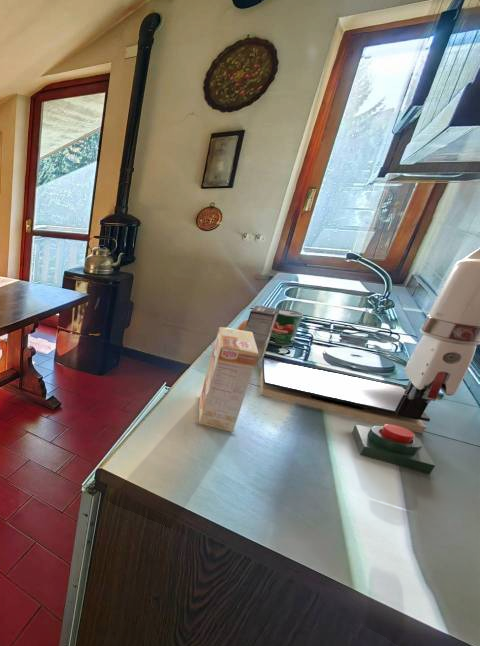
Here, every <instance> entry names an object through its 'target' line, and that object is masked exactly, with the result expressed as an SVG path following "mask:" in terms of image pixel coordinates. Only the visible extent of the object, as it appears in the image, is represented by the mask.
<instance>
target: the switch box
mask: <svg viewBox="0 0 480 646" xmlns="http://www.w3.org/2000/svg"><path fill="white" fill-rule="evenodd" d="M383 427H384V425H374V426H372V427H369V426H366V425H360V424H357V423H356V424H355V425H354V427H353V429H352V431H351V434H352V436H353V440H354V442H355V445H356V448H357V450H358V453H359V456H361V457H365V458H368V459H372V460H377V461H380V462H383V463H387V464H390V465H394V466H398V467H402V468H404V469H409V470H411V471H416V472H419V473H423V474H427V475H431V473H432V472H433V470H434V469H435V468H436V464H435V463H434V462H433V460H432V458H431V456H430V455H429V453H428V452H427V450H426V448H425V446H424V443H423V442H422V441H421V439H419V438H418V437H416V436H414V438H413V440H412V441H411V443H401V442H397V441H394V440H392V439H389V438H387V437H385V436H383V435H382V434H381V431H382V429H383Z"/></svg>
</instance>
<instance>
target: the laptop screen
mask: <svg viewBox="0 0 480 646" xmlns="http://www.w3.org/2000/svg"><path fill="white" fill-rule="evenodd" d="M262 362H263V374H264V384H265V385H270V386H274V387H278V388H283V389H287V390H292V391H296V392H300V393H305V394H309V395H314V396H318V397H322V398H327V399H331V400H335V401H340V402H344V403H349V404H353V405H357V406H362V407H366V408H371V409H375V410H379V411H384V412H388V413H393V414H397V413H396V412H395V409H396V407H397V406H398V404H399V402H400V400H401V398H402V396H403V395H406V394H404V392H405V388H404V387H403V386H398V385H394V384H390V383H384V382H379V381H374V380H369V379H364V378H359V377H354V376H349V375H345V374H340V373H335V372H329V371H325V370H319V369H313V368H309V367H304V366H300V365H294V364H289V363H283V362H279V361H274V360H270V359H263V358H262ZM419 420H422V422H423V421H424V422H430V421H431V418H430V417H429V416H428V415H427V414H426V412H425V411H424V412H423V414H422V416H421V418H420V419H419Z"/></svg>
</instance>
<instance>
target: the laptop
mask: <svg viewBox="0 0 480 646" xmlns="http://www.w3.org/2000/svg"><path fill="white" fill-rule="evenodd" d="M259 388H260V389H259V390H260V391H259V392H260V396H264V397H268V398H273V399H277V400H281V401H284V402H288V403H293V404H298V405H302V406H306V407H310V408H314V409H318V410H323V411H326V412H330V413H334V414H339V415H343V416H348V417H351V418H356V419H359V420H364V421H367V422H373V423H375V424H376V423H377V424H380V425H387V424H390V425H396V426H400V427H403V428H405V429H408V430H410V431H411V432H413V433H419V434H424V432H425V430H426V428H427V426H426V425H425V423H424V422H423V420H416V419H411V418H407V417H403V416H399V415H397V414H393V413H388V412H384V411H379V410H375V409H371V408H366V407H362V406H357V405H353V404H349V403H344V402H340V401H335V400H331V399H327V398H322V397H318V396H314V395H309V394H305V393H300V392H296V391H292V390H287V389H283V388H278V387H274V386H270V385H265V384H264V374H263V361H262V362H261V365H260V386H259Z"/></svg>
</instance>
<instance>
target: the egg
mask: <svg viewBox="0 0 480 646" xmlns="http://www.w3.org/2000/svg"><path fill="white" fill-rule="evenodd" d="M247 321H248V319H245V320H243V321H242V322H241V323H240V324H238V326H237V327H236V329H237V330H242V331H245V328H246V324H247Z"/></svg>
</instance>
